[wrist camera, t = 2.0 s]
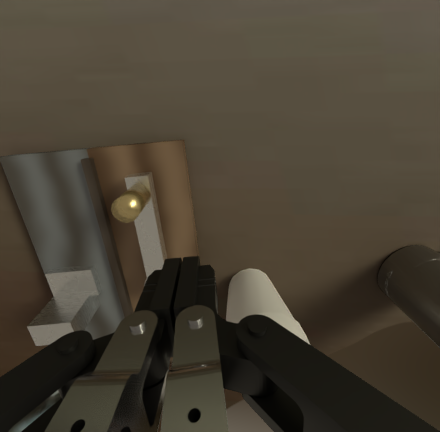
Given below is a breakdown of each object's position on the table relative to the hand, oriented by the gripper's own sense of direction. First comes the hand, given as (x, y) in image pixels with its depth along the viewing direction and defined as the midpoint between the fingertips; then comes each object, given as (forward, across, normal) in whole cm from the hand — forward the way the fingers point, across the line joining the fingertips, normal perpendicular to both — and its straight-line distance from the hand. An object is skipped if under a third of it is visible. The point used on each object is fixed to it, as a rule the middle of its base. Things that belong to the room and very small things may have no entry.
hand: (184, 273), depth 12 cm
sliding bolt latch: (+21, +12, +12) cm, 27 cm away
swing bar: (+18, +6, +6) cm, 20 cm away
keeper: (+20, +18, +13) cm, 30 cm away
